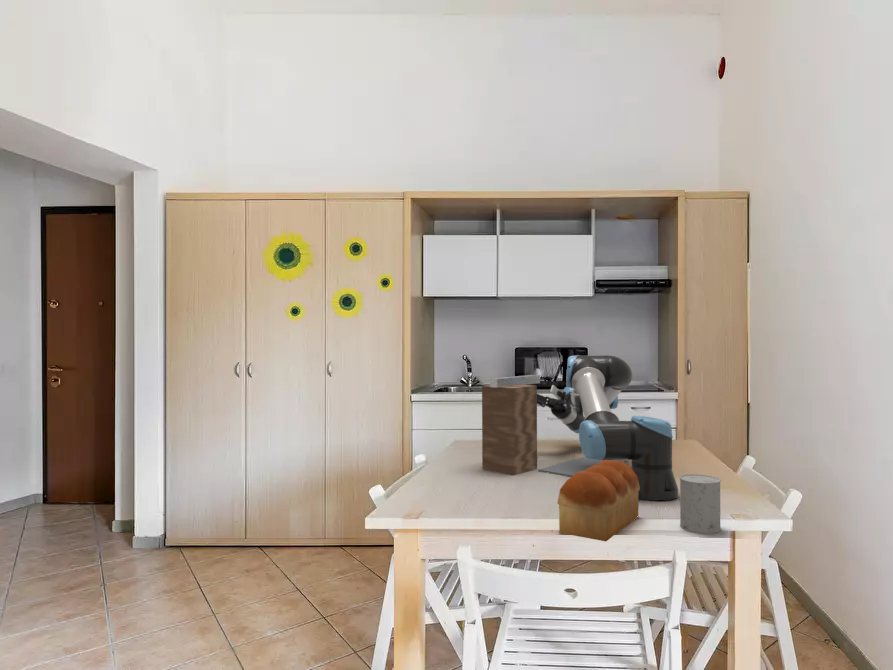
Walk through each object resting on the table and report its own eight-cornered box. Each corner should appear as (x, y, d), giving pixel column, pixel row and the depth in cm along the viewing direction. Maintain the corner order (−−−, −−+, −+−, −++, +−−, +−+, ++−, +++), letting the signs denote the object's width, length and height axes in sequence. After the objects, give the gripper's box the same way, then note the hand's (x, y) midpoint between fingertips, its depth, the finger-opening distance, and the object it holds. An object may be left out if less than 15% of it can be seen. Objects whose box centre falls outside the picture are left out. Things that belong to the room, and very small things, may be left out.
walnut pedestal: (506, 463, 238) (505, 383, 238) (537, 468, 228) (536, 385, 228) (482, 469, 228) (482, 386, 228) (513, 475, 218) (513, 388, 218)
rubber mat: (590, 456, 251) (590, 454, 251) (627, 461, 240) (627, 460, 240) (538, 471, 225) (538, 469, 225) (577, 478, 214) (577, 476, 214)
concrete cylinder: (682, 532, 156) (682, 482, 156) (677, 520, 165) (677, 473, 165) (724, 534, 153) (723, 484, 153) (717, 523, 163) (716, 475, 163)
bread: (606, 543, 148) (606, 479, 148) (557, 533, 155) (557, 473, 155) (640, 517, 169) (639, 461, 169) (595, 509, 176) (595, 456, 176)
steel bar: (533, 382, 242) (533, 374, 242) (539, 383, 239) (539, 375, 239) (490, 387, 222) (490, 378, 222) (497, 387, 220) (497, 379, 220)
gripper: (588, 422, 245) (562, 398, 231) (535, 416, 262) (507, 394, 248) (593, 404, 248) (567, 380, 234) (540, 400, 265) (513, 377, 251)
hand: (536, 387), depth 241 cm, fingers open, 13 cm apart
